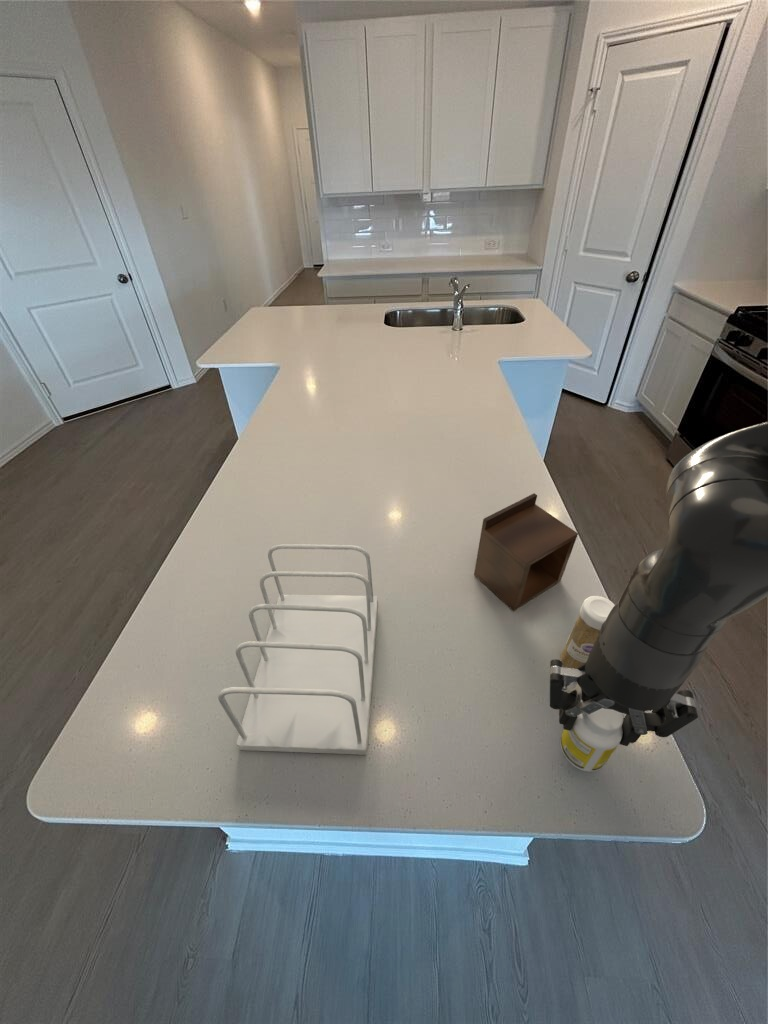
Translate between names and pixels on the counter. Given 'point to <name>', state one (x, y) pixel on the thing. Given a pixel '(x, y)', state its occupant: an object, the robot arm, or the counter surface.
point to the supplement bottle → (592, 739)
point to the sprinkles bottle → (585, 631)
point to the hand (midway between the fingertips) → (594, 729)
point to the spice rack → (522, 552)
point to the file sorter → (310, 669)
